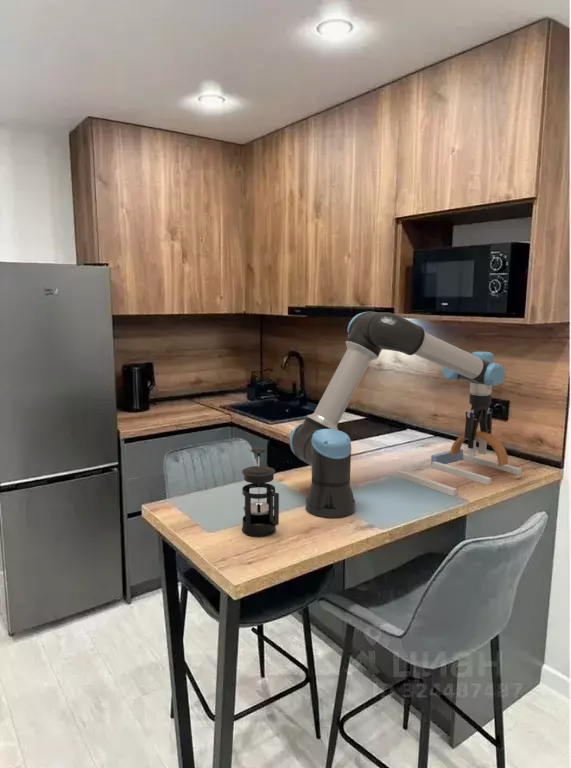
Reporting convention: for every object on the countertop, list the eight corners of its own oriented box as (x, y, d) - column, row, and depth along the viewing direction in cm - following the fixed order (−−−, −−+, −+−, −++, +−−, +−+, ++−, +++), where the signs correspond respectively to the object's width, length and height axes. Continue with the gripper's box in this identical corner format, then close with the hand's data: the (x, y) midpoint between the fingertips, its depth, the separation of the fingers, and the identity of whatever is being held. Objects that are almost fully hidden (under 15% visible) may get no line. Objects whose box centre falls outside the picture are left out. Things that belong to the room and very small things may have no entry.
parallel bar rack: (453, 496, 172) (453, 484, 171) (393, 475, 192) (393, 464, 192) (521, 473, 195) (522, 463, 194) (461, 457, 216) (462, 447, 215)
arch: (458, 451, 206) (459, 426, 205) (507, 463, 192) (509, 436, 190) (450, 454, 203) (451, 429, 201) (500, 466, 188) (502, 439, 186)
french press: (232, 530, 145) (232, 449, 142) (255, 519, 152) (255, 442, 149) (265, 542, 138) (265, 457, 134) (287, 530, 145) (288, 449, 142)
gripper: (473, 398, 185) (470, 461, 189) (504, 392, 196) (500, 453, 200) (455, 395, 191) (452, 456, 195) (486, 390, 202) (483, 448, 206)
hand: (476, 454), depth 197 cm, fingers closed on arch, 6 cm apart
